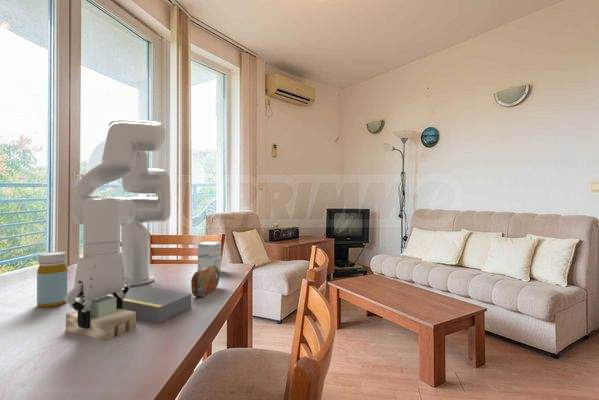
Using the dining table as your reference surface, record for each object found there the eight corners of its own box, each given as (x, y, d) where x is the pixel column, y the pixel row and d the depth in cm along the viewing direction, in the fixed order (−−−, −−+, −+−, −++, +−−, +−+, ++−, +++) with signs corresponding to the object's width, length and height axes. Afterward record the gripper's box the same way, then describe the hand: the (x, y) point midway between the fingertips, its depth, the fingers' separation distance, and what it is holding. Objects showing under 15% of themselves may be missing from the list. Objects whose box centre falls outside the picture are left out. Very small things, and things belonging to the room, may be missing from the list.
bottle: (72, 301, 94) (73, 252, 93) (47, 309, 87) (47, 256, 87) (57, 298, 96) (57, 250, 96) (31, 306, 89) (31, 254, 89)
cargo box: (84, 314, 74) (84, 300, 74) (102, 308, 78) (102, 294, 78) (98, 317, 72) (98, 303, 72) (116, 311, 76) (116, 297, 76)
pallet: (65, 330, 74) (65, 313, 74) (96, 318, 81) (96, 303, 81) (106, 341, 69) (107, 323, 69) (135, 328, 76) (135, 311, 76)
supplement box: (196, 273, 129) (197, 243, 129) (206, 269, 136) (206, 241, 136) (213, 275, 127) (213, 244, 127) (221, 270, 134) (221, 241, 134)
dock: (104, 311, 86) (104, 296, 86) (140, 298, 98) (140, 285, 98) (158, 323, 79) (159, 307, 79) (191, 307, 90) (191, 293, 90)
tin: (198, 300, 97) (198, 273, 97) (189, 299, 97) (189, 273, 97) (219, 286, 111) (220, 263, 111) (211, 286, 112) (212, 263, 112)
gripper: (122, 242, 84) (122, 307, 85) (52, 253, 68) (51, 332, 68) (143, 244, 82) (142, 311, 82) (75, 256, 66) (74, 338, 66)
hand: (101, 320), depth 75 cm, fingers closed on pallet, 7 cm apart
